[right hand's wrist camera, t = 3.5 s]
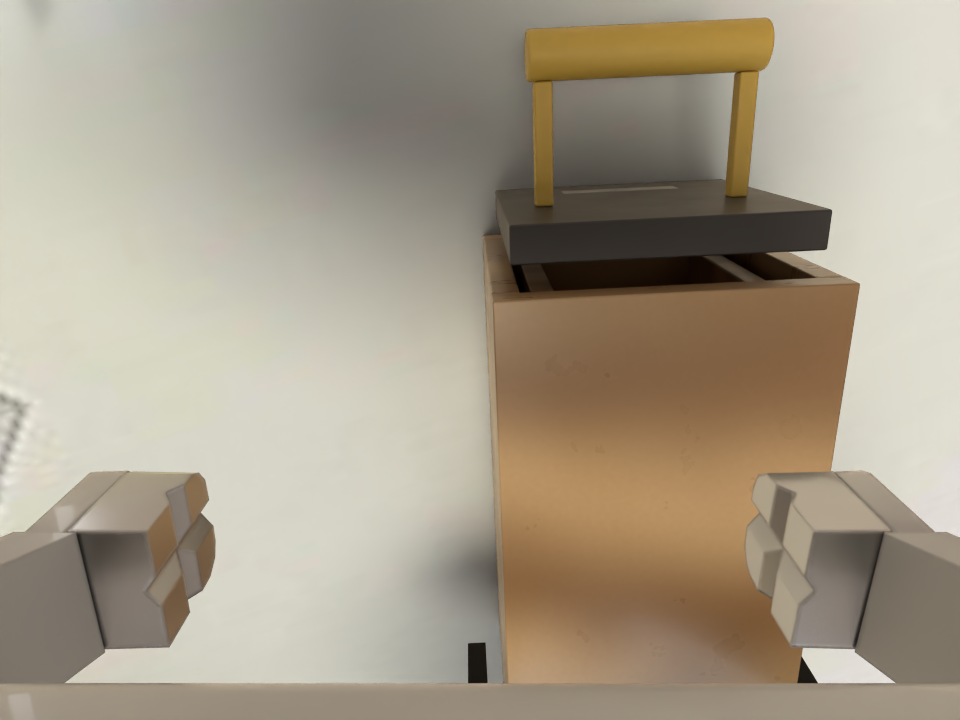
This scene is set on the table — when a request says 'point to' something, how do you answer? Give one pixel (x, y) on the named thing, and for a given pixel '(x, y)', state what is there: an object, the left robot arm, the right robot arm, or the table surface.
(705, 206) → the drawer
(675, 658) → the cabinet
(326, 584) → the table surface
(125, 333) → the table surface
